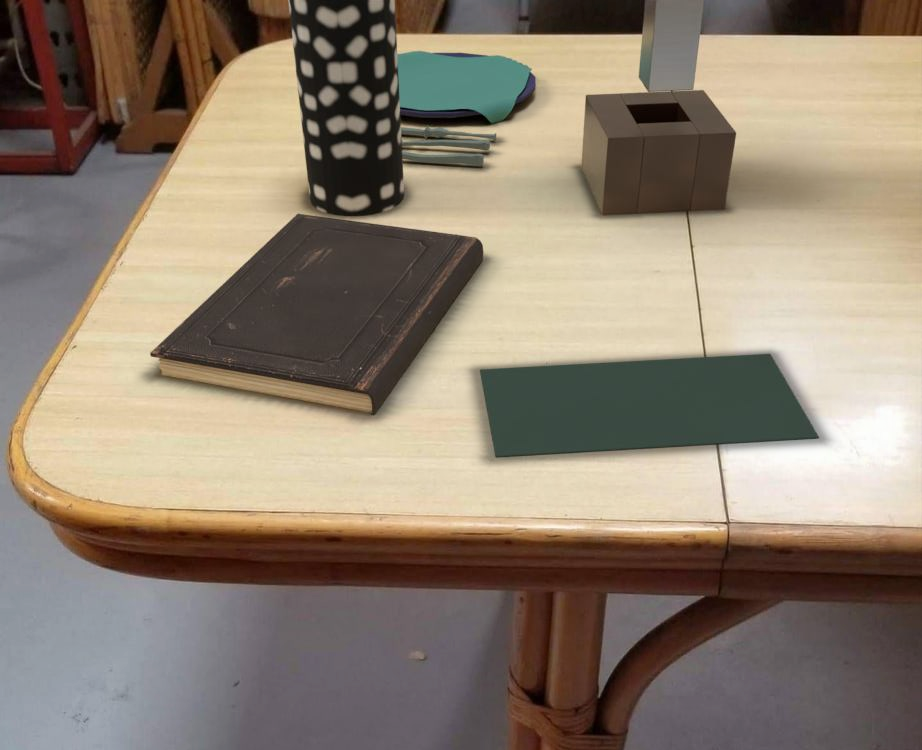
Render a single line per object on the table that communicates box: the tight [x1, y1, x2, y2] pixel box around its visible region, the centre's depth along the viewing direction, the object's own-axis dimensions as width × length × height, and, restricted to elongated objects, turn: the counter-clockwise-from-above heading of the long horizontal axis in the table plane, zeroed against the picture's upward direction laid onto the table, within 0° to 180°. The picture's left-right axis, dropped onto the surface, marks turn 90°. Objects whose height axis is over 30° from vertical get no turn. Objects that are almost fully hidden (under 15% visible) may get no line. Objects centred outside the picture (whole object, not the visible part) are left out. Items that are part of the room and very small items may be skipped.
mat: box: [479, 353, 820, 459], centre depth 69 cm, size 20×10×1 cm, turn 95°
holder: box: [580, 89, 737, 216], centre depth 93 cm, size 11×11×7 cm
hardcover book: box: [149, 213, 484, 416], centre depth 78 cm, size 16×23×2 cm
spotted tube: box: [287, 0, 405, 217], centre depth 88 cm, size 8×8×20 cm
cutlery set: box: [397, 50, 537, 167], centre depth 110 cm, size 20×30×2 cm, turn 168°
